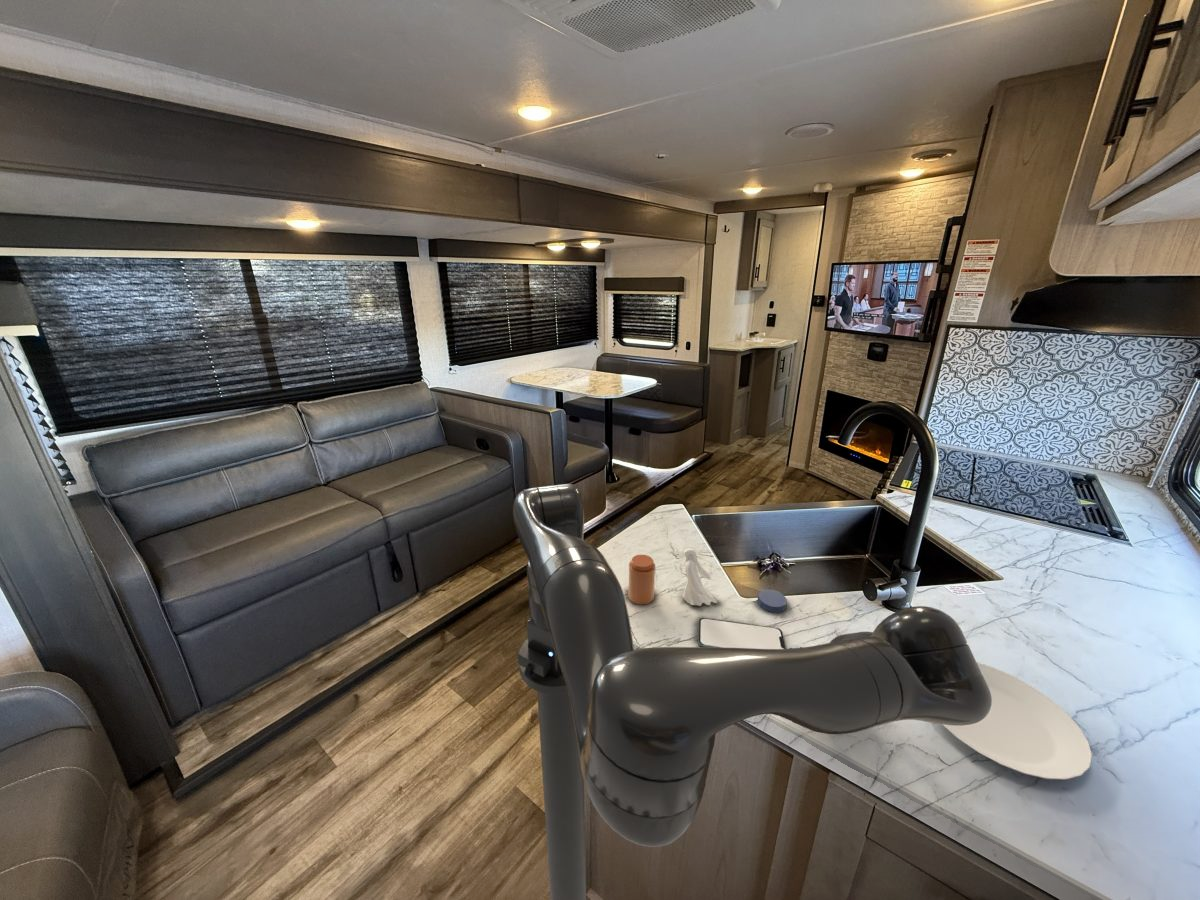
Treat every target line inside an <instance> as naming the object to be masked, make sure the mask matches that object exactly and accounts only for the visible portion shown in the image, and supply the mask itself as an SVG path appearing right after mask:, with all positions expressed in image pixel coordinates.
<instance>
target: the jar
mask: <svg viewBox="0 0 1200 900" xmlns="http://www.w3.org/2000/svg"><path fill="white" fill-rule="evenodd" d="M655 582H656V563H655V562H654V559H653V558H652V556H651V555H650V556H649V555H647V554H636V555H634V556H632V558H631V560H630V561H629V563H628V590H627V593H628V594H627V597H628V599H629V600H630V601H631V602H632V603H634V604H637V605H649V604H650V603H651V602H653V601H654V598H655Z"/></svg>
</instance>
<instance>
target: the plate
mask: <svg viewBox="0 0 1200 900" xmlns="http://www.w3.org/2000/svg"><path fill="white" fill-rule="evenodd" d="M977 664H978V667H979V669H980V671H981V673H982V675H983V677H984V679H985V681H986V683H987V685H988V687H989V690H990V693H991V697H992V705H991V709H990V711H989V713H988V715H987V716H986V717H985V718H984V719H983V720H981V721H980V722H977V723H975V724H971V725H962V726H954V725H943V724H941V725H942V726H943V727H944V728H945V729H947V730H948V732H950V733H951V734H952V735H953V736H954V737H955V738H956V739H958V740H959V741H960V742H962V743H964V744H965V745H966V746H968V747H969V748H971V749H972V750H974V751H975V752H977V753H978V754H980V755H982V756H984V757H986V758H988V759H990V760H991V761H994V762H995V763H997V764H999V765H1001V766H1003V767H1006V768H1009V769H1011V770H1013V771H1016V772H1018V773H1021V774H1024V775H1028V776H1032V777H1036V778H1041V779H1044V780H1045V779H1046V780H1064V781H1065V780H1070V779H1074V778H1077V777H1081V776H1082V775H1084V774H1085V773H1086V772H1087V771H1089V769H1090V768H1091V764H1092V759H1093V754H1092V750H1091V747H1090V742H1089V741H1088V738H1086V736H1085V734H1084V732H1083V731H1082V729H1081V728H1080V726H1079V725H1078V724H1077V723H1076V721H1074V720H1073V718H1072V717H1071V716H1070V715H1069V714H1068V713H1067V712H1066V711H1065V710H1064V709H1063V708H1061V707H1060V706H1059V705H1058V704H1057V703H1056V702H1055V701H1053V700H1052V699H1051V698H1050V697H1048V696H1047V695H1045V694H1044V693H1042V692H1041V691H1040V690H1038V689H1037V688H1035V687H1034V686H1032V685H1030V684H1029V683H1026V682H1025V681H1023V680H1021V679H1020V678H1018V677H1016V676H1014V675H1012V674H1010V673H1008V672H1005V671H1004V670H1003V671H1002V670H1001V669H998V668H996V667H993V666H990V665H986V664H983V663H981V662H977Z"/></svg>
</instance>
